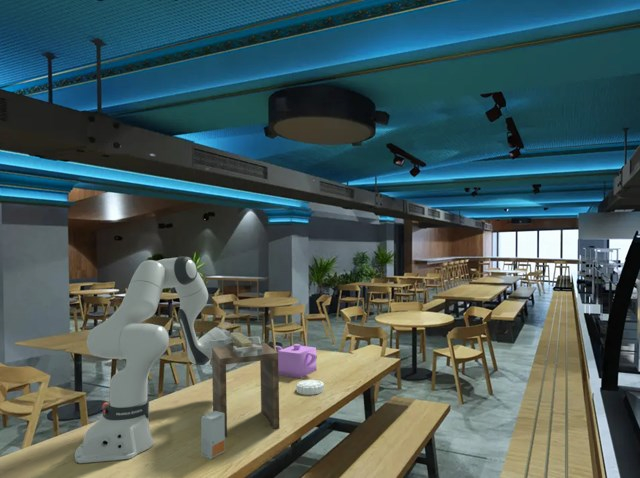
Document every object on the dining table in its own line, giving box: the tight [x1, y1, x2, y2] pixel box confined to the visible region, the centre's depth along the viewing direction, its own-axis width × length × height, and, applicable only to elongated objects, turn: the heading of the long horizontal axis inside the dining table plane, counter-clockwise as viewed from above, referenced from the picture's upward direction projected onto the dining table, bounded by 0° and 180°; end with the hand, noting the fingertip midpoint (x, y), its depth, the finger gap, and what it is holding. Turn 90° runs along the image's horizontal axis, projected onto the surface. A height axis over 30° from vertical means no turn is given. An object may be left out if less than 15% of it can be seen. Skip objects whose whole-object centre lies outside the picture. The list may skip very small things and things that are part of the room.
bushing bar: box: [229, 331, 252, 348], centre depth 170 cm, size 4×22×4 cm, turn 21°
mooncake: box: [295, 379, 325, 396], centre depth 201 cm, size 12×12×4 cm
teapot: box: [274, 343, 318, 379], centre depth 230 cm, size 15×25×14 cm, turn 59°
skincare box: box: [200, 411, 226, 460], centre depth 140 cm, size 6×4×12 cm
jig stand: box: [211, 342, 280, 438], centre depth 164 cm, size 20×19×29 cm
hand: (237, 338), depth 175 cm, fingers closed on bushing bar, 4 cm apart
